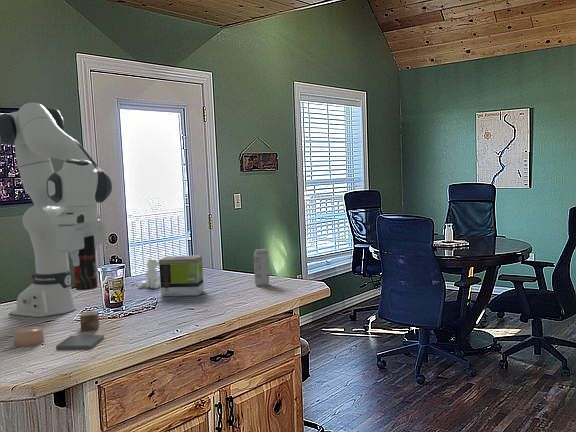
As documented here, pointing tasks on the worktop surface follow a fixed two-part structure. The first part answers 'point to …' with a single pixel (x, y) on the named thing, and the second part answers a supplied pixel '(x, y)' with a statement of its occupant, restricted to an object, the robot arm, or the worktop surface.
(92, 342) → the slate coaster
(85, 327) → the walnut block
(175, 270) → the tea box
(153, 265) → the seated beast figurine
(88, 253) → the deodorant
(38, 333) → the soap bar
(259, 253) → the energy drink can
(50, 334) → the worktop surface
